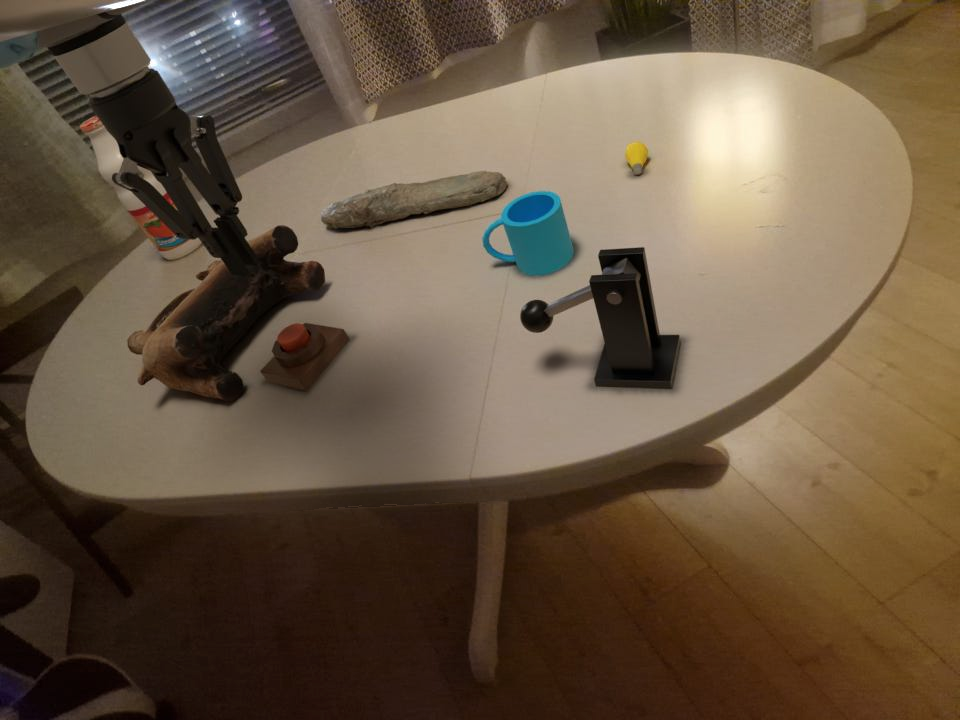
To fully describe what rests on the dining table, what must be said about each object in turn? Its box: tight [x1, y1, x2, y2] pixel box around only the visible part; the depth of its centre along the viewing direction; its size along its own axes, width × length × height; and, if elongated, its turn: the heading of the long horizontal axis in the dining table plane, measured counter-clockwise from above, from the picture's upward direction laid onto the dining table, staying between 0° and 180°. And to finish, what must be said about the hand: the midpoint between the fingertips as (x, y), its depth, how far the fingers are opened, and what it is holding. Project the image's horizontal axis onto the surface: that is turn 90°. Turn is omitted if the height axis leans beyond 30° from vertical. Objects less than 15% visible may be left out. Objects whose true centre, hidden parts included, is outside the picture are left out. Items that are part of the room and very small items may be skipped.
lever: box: [519, 258, 641, 334], centre depth 67 cm, size 14×4×4 cm, turn 70°
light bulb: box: [624, 141, 649, 176], centre depth 99 cm, size 3×6×4 cm, turn 170°
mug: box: [481, 190, 575, 277], centre depth 89 cm, size 12×8×8 cm
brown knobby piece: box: [126, 224, 326, 402], centre depth 99 cm, size 13×31×25 cm
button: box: [276, 322, 310, 353], centre depth 88 cm, size 4×4×2 cm
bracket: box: [588, 246, 681, 390], centre depth 66 cm, size 8×7×14 cm
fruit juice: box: [79, 115, 203, 261], centre depth 125 cm, size 9×9×28 cm
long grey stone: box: [320, 170, 508, 230], centre depth 113 cm, size 35×5×10 cm
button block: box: [260, 322, 351, 392], centre depth 89 cm, size 10×8×4 cm
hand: (246, 268), depth 80 cm, fingers closed
